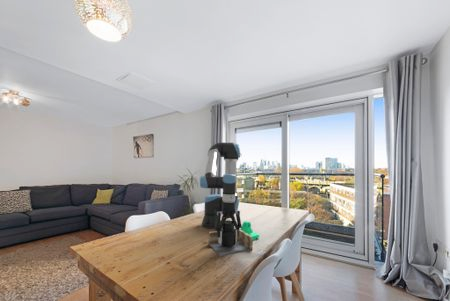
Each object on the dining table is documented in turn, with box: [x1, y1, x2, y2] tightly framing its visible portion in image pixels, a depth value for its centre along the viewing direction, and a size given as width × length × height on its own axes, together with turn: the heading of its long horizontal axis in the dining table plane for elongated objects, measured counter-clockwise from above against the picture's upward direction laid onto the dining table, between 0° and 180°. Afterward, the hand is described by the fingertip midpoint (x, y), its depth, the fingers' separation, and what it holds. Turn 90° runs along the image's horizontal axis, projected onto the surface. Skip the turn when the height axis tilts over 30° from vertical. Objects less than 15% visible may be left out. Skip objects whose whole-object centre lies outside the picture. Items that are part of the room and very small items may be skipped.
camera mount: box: [240, 220, 260, 241], centre depth 129 cm, size 12×8×10 cm, turn 128°
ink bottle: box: [221, 219, 236, 246], centre depth 113 cm, size 10×9×12 cm
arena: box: [208, 228, 254, 257], centre depth 114 cm, size 16×20×7 cm
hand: (227, 241), depth 112 cm, fingers closed on ink bottle, 9 cm apart
